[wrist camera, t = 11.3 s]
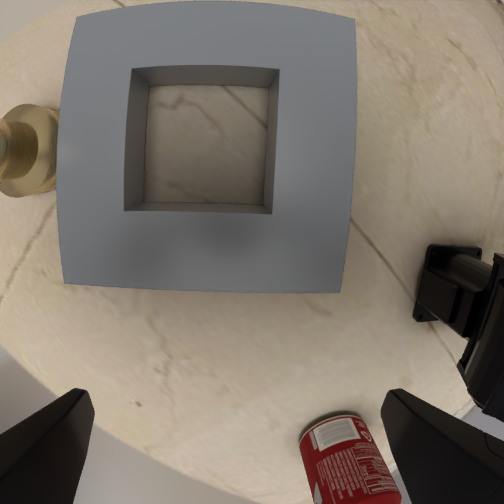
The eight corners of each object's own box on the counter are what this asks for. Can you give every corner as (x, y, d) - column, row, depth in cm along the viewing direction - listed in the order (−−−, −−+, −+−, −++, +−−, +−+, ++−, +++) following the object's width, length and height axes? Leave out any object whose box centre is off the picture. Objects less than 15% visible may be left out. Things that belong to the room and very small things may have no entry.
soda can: (300, 415, 24) (334, 527, 13) (369, 404, 25) (422, 499, 13) (295, 457, 26) (318, 552, 15) (355, 446, 27) (393, 531, 15)
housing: (333, 41, 17) (354, 19, 13) (320, 270, 21) (340, 292, 17) (99, 38, 15) (76, 17, 11) (89, 263, 19) (64, 283, 15)
